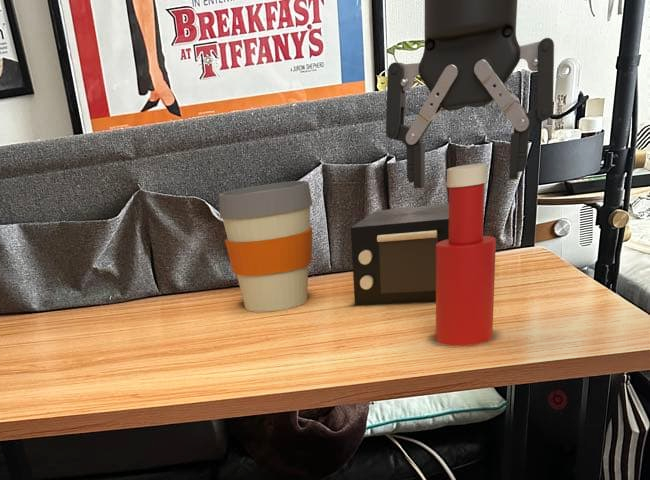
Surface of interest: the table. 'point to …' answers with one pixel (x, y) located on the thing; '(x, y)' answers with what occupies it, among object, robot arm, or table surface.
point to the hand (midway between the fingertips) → (465, 183)
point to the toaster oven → (398, 254)
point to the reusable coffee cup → (269, 243)
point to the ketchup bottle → (465, 263)
